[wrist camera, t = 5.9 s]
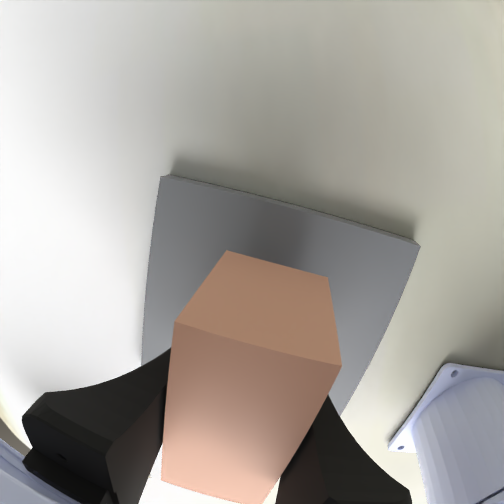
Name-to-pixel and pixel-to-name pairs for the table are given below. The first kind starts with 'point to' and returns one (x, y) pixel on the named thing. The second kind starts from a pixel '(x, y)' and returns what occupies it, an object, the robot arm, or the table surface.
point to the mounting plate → (276, 251)
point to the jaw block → (246, 377)
